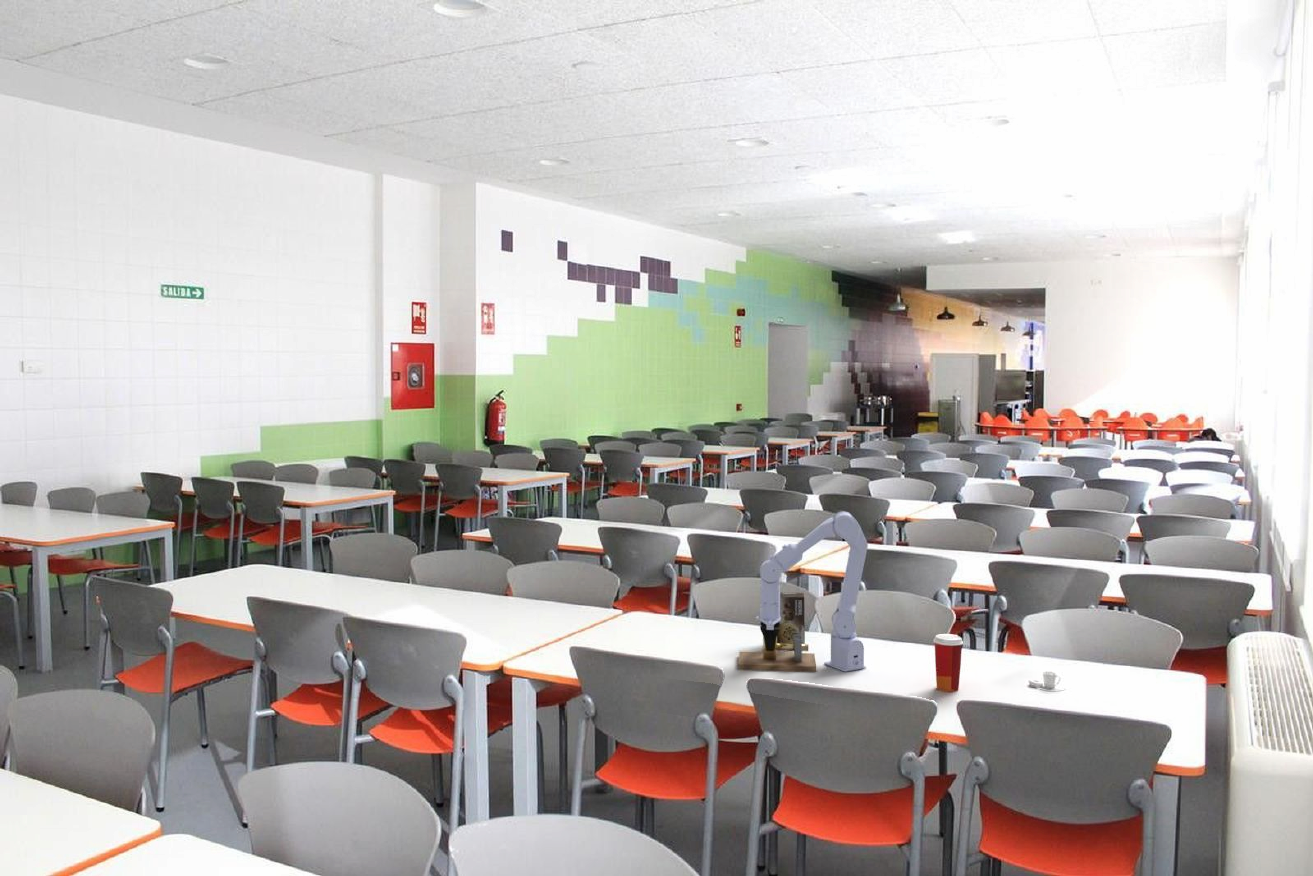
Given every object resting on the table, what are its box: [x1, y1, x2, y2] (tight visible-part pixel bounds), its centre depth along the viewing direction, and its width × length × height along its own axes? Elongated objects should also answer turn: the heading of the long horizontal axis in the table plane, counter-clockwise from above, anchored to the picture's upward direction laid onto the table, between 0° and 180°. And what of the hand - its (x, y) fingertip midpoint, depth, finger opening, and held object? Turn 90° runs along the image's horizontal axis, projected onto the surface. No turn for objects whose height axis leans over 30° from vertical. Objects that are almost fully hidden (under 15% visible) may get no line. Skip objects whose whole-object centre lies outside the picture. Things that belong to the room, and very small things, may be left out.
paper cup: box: [932, 633, 964, 693], centre depth 275 cm, size 8×8×14 cm
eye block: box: [737, 632, 817, 673], centre depth 300 cm, size 22×14×8 cm, turn 84°
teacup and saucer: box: [1028, 671, 1066, 692], centre depth 277 cm, size 9×8×4 cm
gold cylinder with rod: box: [762, 636, 809, 659], centre depth 299 cm, size 13×4×8 cm, turn 84°
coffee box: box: [777, 592, 806, 644], centre depth 320 cm, size 9×6×16 cm
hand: (769, 648), depth 300 cm, fingers closed on gold cylinder with rod, 4 cm apart
